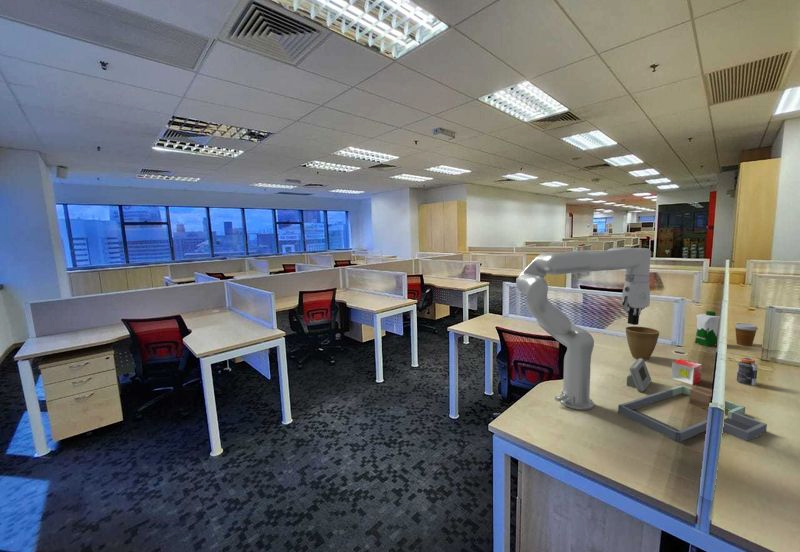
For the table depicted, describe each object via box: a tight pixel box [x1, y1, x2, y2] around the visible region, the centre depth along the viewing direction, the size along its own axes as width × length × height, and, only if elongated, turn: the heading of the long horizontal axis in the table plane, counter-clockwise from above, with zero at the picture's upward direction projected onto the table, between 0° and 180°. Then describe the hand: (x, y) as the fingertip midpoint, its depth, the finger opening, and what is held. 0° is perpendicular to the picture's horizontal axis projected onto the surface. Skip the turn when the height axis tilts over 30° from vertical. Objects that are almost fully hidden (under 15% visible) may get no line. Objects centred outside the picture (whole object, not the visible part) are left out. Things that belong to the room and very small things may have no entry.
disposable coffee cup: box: [734, 322, 759, 347], centre depth 189 cm, size 10×10×12 cm
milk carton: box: [694, 310, 721, 347], centre depth 191 cm, size 9×9×20 cm
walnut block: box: [688, 386, 713, 411], centre depth 125 cm, size 6×6×6 cm
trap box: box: [617, 384, 768, 443], centre depth 117 cm, size 40×28×3 cm
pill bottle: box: [736, 357, 758, 386], centre depth 142 cm, size 6×6×11 cm
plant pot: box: [625, 325, 660, 361], centre depth 175 cm, size 15×15×16 cm
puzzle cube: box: [671, 358, 703, 386], centre depth 147 cm, size 8×8×8 cm
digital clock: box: [626, 358, 652, 393], centre depth 144 cm, size 16×9×11 cm, turn 120°
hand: (632, 323), depth 128 cm, fingers closed
